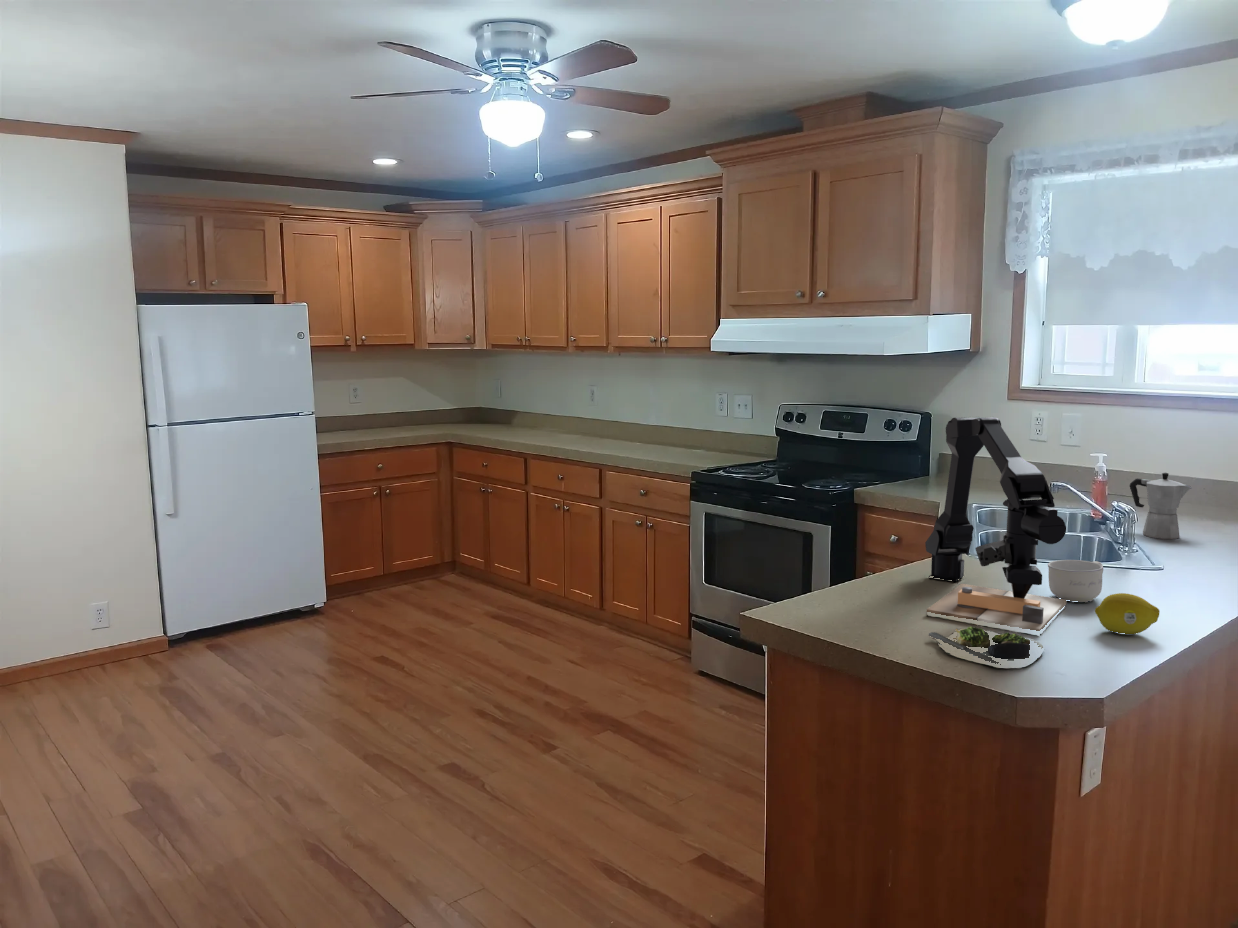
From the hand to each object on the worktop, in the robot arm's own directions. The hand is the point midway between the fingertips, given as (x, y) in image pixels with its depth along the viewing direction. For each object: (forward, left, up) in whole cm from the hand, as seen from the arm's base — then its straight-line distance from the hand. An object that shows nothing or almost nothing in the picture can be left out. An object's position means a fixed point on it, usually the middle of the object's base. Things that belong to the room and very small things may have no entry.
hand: (1017, 604), depth 186 cm
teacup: (+8, +21, -3) cm, 23 cm away
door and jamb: (-4, +1, -3) cm, 5 cm away
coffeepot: (+13, +98, -3) cm, 99 cm away
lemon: (+20, +1, -3) cm, 20 cm away
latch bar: (-3, -3, -1) cm, 4 cm away
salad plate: (+2, -24, -3) cm, 24 cm away
